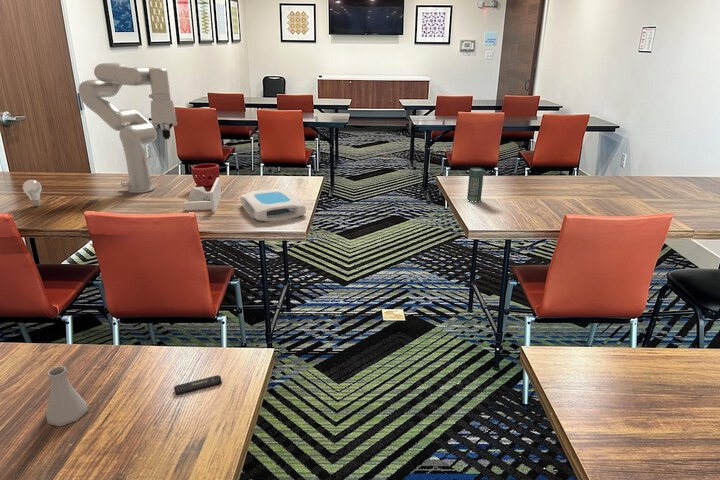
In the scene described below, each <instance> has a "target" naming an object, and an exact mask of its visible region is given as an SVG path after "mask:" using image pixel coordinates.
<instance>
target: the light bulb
mask: <svg viewBox="0 0 720 480" xmlns="http://www.w3.org/2000/svg"><path fill="white" fill-rule="evenodd" d="M42 189H43V188H42V184H41V183H40V182H39V181H38V180H36V179H28V180H26V181H25V182H24V183H23V185H22V190H23V192H24V194H26V195H27V196H28V198H29V200H30V202H31V205H32V206H34V207H39V206H40V204H41V199H40V198H41V192H42V191H43V190H42Z"/></svg>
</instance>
